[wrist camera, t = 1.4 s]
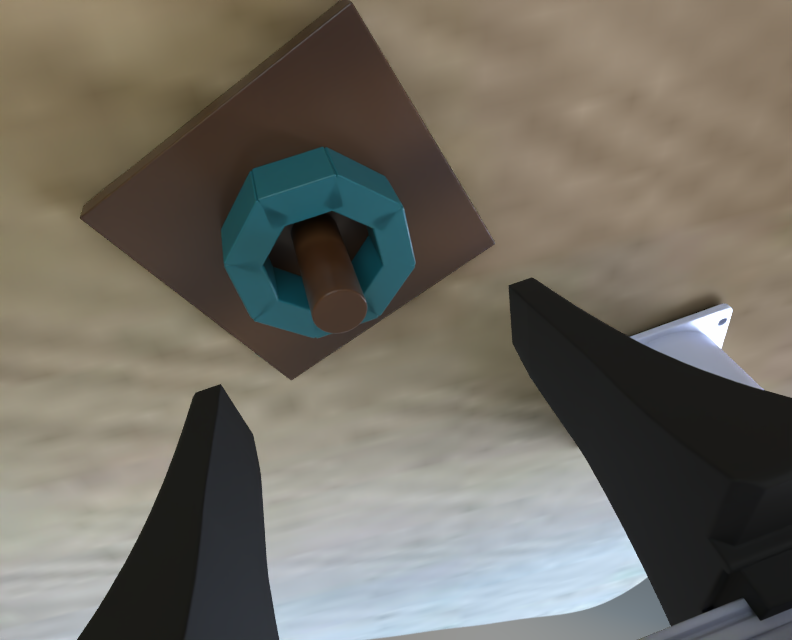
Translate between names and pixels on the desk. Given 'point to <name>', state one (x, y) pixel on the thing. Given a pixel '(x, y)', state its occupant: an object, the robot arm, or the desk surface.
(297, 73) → the ring toss
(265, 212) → the ring
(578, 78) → the desk surface
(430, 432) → the desk surface
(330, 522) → the desk surface
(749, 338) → the desk surface
